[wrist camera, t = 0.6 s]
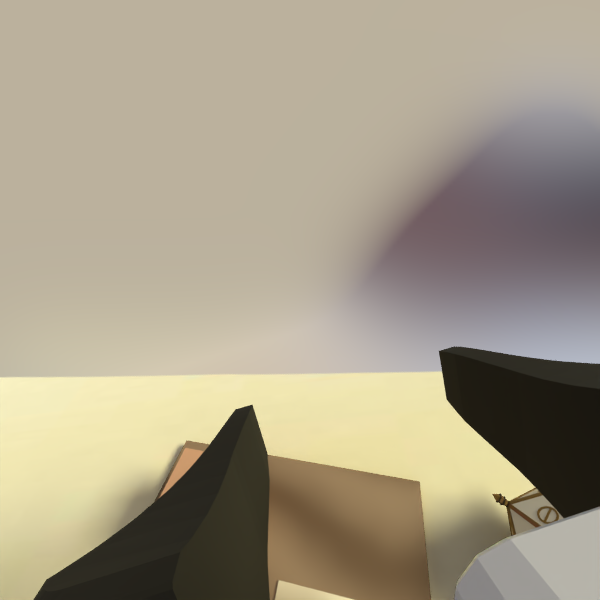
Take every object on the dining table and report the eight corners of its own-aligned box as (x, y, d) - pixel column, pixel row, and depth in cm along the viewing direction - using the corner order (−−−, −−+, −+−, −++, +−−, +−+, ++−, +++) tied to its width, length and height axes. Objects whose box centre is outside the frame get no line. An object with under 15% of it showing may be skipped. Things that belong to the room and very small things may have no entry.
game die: (527, 622, 21) (497, 662, 14) (493, 476, 26) (460, 458, 19) (734, 670, 16) (827, 763, 10) (645, 480, 21) (669, 457, 14)
